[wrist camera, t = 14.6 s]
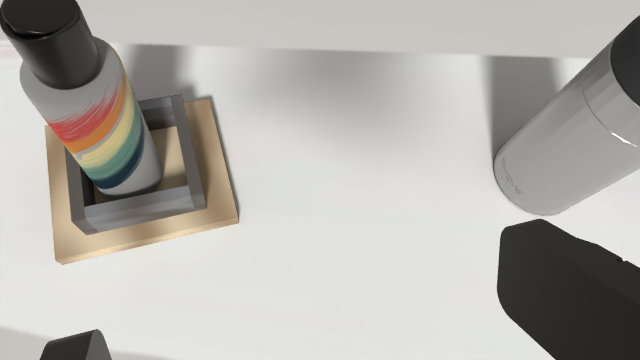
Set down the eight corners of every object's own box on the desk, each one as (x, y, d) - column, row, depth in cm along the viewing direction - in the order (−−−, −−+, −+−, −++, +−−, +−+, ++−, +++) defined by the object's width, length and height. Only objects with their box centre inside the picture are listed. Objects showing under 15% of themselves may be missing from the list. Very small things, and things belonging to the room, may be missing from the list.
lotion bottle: (86, 165, 40) (-48, -15, 22) (146, 138, 42) (69, -49, 24) (114, 216, 38) (-5, 68, 20) (175, 185, 40) (115, 24, 22)
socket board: (210, 107, 46) (206, 76, 42) (238, 223, 41) (237, 203, 37) (51, 133, 42) (27, 103, 38) (62, 264, 38) (36, 248, 33)
